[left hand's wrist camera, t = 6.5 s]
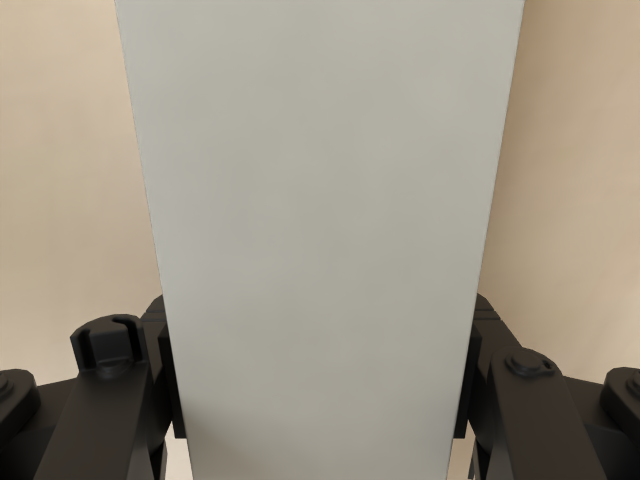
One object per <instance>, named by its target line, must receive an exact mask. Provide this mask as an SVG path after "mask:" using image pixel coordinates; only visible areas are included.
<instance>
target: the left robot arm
mask: <svg viewBox="0 0 640 480" xmlns="http://www.w3.org/2000/svg"><path fill="white" fill-rule="evenodd" d="M70 340H71V343H72V347H73V351H74V354H75V358H76V361H77V365H78V369H79V374H78V376H77V377H76V378H73V379H69V380H65V381H60V382H55V383H50V384H46V385H41V386H37V385H36V382H35V379H34V376H33V375H32V374H31V373H30V372H29V371H27V370H21V369H10V370H2V371H0V480H165V473H166V463H167V448H166V442H165V435H166V433H167V430H168V428H169V426H170V424H171V421H172V424H173V429H174V435H175V438H186V432H185V426H184V420H183V414H182V408H181V402H180V396H179V390H178V384H177V378H176V372H175V365H174V359H173V353H172V347H171V341H170V335H169V329H168V323H167V317H166V311H165V305H164V299H163V294H162V295H161V296H159V297H158V298H156V299H155V300H154V301H153V302H152V303H151V305H150V306H149V307H148V309H147V310H146V313H144V314H143V315H142V317H141V318H140V319H139V318H138V317H137V316H133V315H129V314H114V315H109V316H104V317H100V318H98V319H95V320H92V321H90V322H87V323H86V324H84V325H83V326H81V327H80V328H78V329H76V331H75V332H74V333H73V334H72V335H71V336H70ZM468 420H469V422H470V424H471V427H472V429H473V431H474V434H475V436H476V437H475V442H474V448H473V453H472V458H471V463H470V468H469V474H468V479H471V480H473V478H474V473H475V480H640V369H637V368H628V367H620V368H613V369H612V370H611V371H609V372H608V373H607V375H606V378H605V381H604V384H598V383H593V382H588V381H583V380H579V379H574V378H570V377H566V376H563V375H562V373H561V371H560V369H559V368H558V367H557V365H556V364H555V363H554V362H553V361H551V360H550V359H549V358H547V357H546V356H545V355H543V354H540V353H538V352H536V351H534V350H531V349H527V348H523V347H522V346H521V345H520V343H519V342H518V341H517V339H516V338H515V337H514V335H513V334H512V333H511V331H510V330H509V329H508V327H507V326H506V325H505V323H504V322H503V321H502V320H500V317H499V315H498V314H497V313H496V311H494V309H493V307H492V306H491V305H490V303H489V302H488V301H487V299H486V298H484V297H483V296H481V295H480V294H478V293H477V296H476V302H475V308H474V315H473V321H472V327H471V333H470V339H469V345H468V351H467V357H466V363H465V369H464V375H463V382H462V388H461V394H460V400H459V406H458V412H457V418H456V424H455V430H454V436H453V438H465V433H466V428H467V422H468Z"/></svg>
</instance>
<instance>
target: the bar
mask: <svg viewBox="0 0 640 480" xmlns="http://www.w3.org/2000/svg"><path fill="white" fill-rule="evenodd" d="M114 1H115V7H116V13H117V19H118V25H119V31H120V37H121V43H122V49H123V55H124V62H125V68H126V74H127V80H128V86H129V92H130V98H131V104H132V110H133V116H134V122H135V128H136V134H137V141H138V147H139V153H140V159H141V165H142V171H143V177H144V183H145V189H146V195H147V201H148V207H149V213H150V220H151V226H152V232H153V238H154V244H155V250H156V256H157V262H158V268H159V274H160V280H161V286H162V293H163V299H164V305H165V311H166V317H167V323H168V329H169V335H170V341H171V347H172V353H173V359H174V365H175V372H176V378H177V384H178V390H179V396H180V402H181V408H182V414H183V420H184V426H185V432H186V438H187V444H188V451H189V457H190V463H191V469H192V475H193V480H446V479H447V473H448V467H449V461H450V455H451V449H452V442H453V436H454V430H455V424H456V418H457V412H458V406H459V400H460V394H461V388H462V382H463V375H464V369H465V363H466V357H467V351H468V345H469V339H470V333H471V327H472V321H473V315H474V308H475V302H476V296H477V290H478V284H479V278H480V272H481V266H482V260H483V254H484V247H485V241H486V235H487V229H488V223H489V217H490V211H491V205H492V199H493V193H494V187H495V180H496V174H497V168H498V162H499V156H500V150H501V144H502V138H503V132H504V126H505V120H506V113H507V107H508V101H509V95H510V89H511V83H512V77H513V71H514V65H515V59H516V52H517V46H518V40H519V34H520V28H521V22H522V16H523V10H524V4H525V0H114Z"/></svg>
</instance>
